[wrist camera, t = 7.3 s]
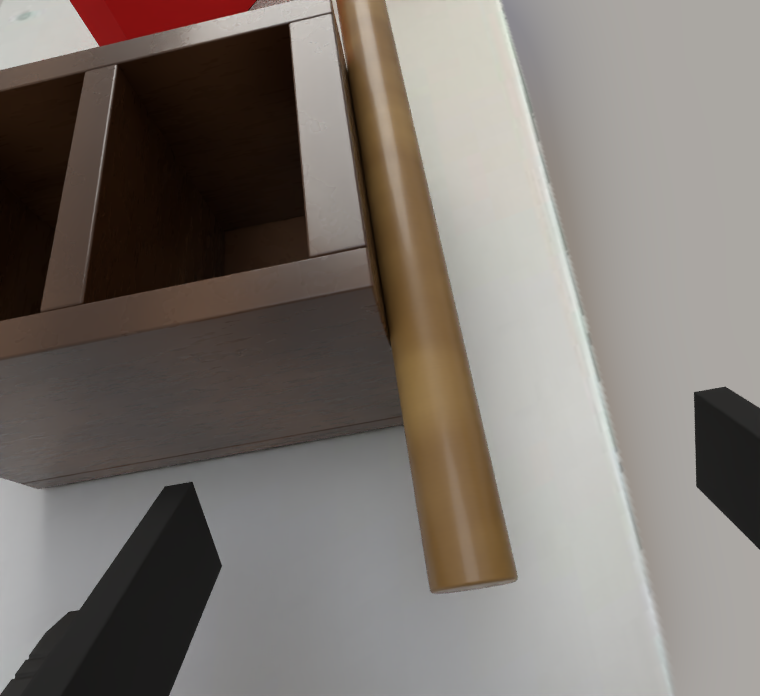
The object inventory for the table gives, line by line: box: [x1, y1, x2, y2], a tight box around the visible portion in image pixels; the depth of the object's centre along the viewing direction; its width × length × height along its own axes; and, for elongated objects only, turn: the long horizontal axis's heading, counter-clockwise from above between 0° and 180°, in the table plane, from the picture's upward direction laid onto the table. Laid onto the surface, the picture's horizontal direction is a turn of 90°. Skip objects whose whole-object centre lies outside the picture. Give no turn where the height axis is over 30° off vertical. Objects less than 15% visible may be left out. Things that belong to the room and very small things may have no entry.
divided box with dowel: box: [0, 0, 518, 594], centre depth 20 cm, size 18×25×10 cm
